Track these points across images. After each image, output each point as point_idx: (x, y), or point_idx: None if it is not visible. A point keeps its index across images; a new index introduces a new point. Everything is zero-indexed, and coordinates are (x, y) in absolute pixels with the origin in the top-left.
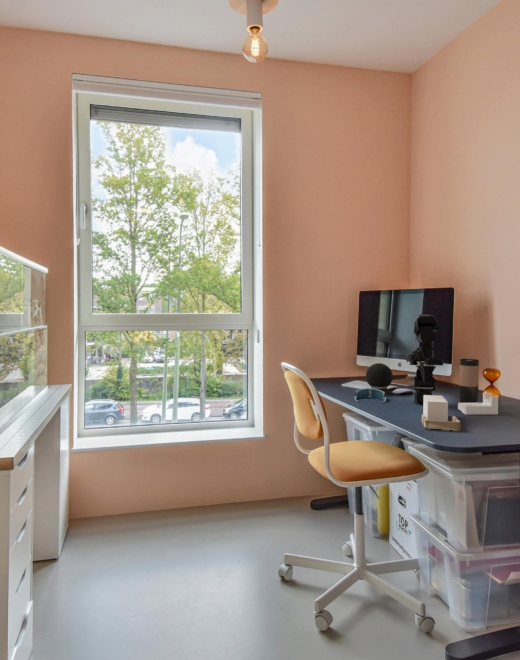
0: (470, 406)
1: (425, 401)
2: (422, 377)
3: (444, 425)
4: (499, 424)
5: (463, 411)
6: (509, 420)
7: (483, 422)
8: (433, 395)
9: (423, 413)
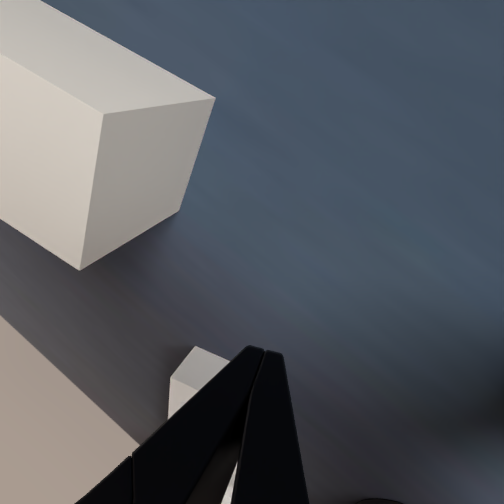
0: (170, 393)
1: None
2: (286, 437)
3: None
4: (32, 311)
5: (215, 363)
6: (91, 389)
7: (52, 286)
8: (83, 204)
9: (194, 90)
